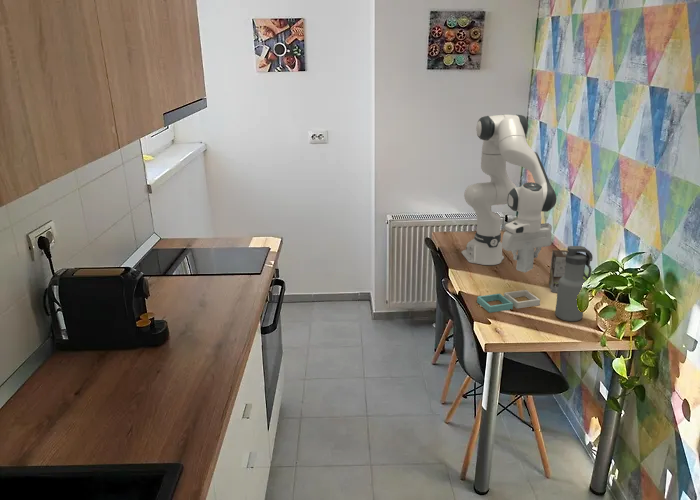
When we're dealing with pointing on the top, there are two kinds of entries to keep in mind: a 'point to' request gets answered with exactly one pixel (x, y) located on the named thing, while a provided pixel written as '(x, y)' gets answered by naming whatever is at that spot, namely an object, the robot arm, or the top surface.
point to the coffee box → (557, 268)
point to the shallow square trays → (508, 301)
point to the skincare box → (525, 258)
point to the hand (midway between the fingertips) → (525, 258)
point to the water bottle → (572, 283)
